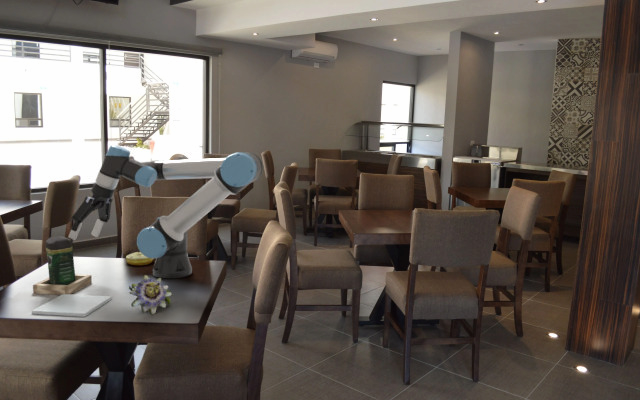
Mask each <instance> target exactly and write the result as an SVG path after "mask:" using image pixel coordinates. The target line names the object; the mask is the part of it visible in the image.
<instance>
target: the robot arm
mask: <svg viewBox="0 0 640 400" xmlns="http://www.w3.org/2000/svg"><path fill="white" fill-rule="evenodd" d="M130 155H131V151H130V150H128V149H127V148H124V147H121V146H119V145H116V144H112V145H110V146H109V148H108V150H107V152H106V154H105V157H104V159H103V162H102V164H101V167H100V169H99V172H98V173H97V176H96V179H95V182H94V183H93V185H92V188H91V193H92V195H91V197H90V196H88V195H86V196H85V197H84V200H83V202H82V203H81V204H80V206H79V207H78V208H77V210H76V211H75V212H74V214H73V215H72V216H71V217H70V219H71V221H73V223H72V227H71V229H70V231H69V234H68V237H67V238H68V239H70V240H73V241H76V240H77V237H78V236H79V233H80V230H81V228H82V225H83V221H84V220H86V219H87V217H88V216H89V215H90V214H91V213H92V212H95V211H96V210H97V212H98V213H97V214H98V218H97V219H96V221H95V224H94V226H93V228H92V231H91V233H90V235H91V236H93V237H94V238H98V237H99V236H100V233H101V231H102V229H103V226H104V223H108V221H109V220H110V216H111V207H112V202H113V195H114V194H115V189H116V188H117V187H118V184H119V181H120V178H121V177H123V178H125V179H127V180H129V181H131V182H133V183H135V184H137V185H138V186H142V187H145V188H150V187H151V186H152V185H153V184H154V183H155V181H166V180H167V181H168V180H191V179H210V180H208V181H207V182H205V184H203V185H202V186H201V187H200V188H198V190H196V192H194V193H193V194H192V195H191V196H190V197H189V198H187V199H186V200H184V202H183V203H182V204H180V205H179V206H178V207H177V208H176V209H174V210H173V211H172V212H171V213H170V214H168V215H161V216H160V217H159V216H158V217H156V220H155V221H154V222H153V223H151V224H150V226H147V227H144V228H143V229H141V231H140V232H139V233H138V234H137V236H136V245H137V248H138V250H139V252H141V253H142V254H143V255H144V256H146V257H148V258H154V259H155V261H154V264H153V268H152V276H153V277H156V278H158V279H159V278H161V279H179V278H184V277H187V276H190V275H192V273H193V272H192V271H193V267H192V264H191V261H190V259H189V256H188V231H189V229H191V228H192V227H193V226H195V224H197V223H198V222H199V221H201V220H202V219H203V218H204V217H205V216H206V215H207V214H208V213H210V212H211V211H212V210H213V209H215V208H216V207H217V206H218V205H219V204H220V203H222V202H223V201H224V200H225V199H227V197H228V196H230V195H232V196H233V195H234V196H235V195H238V194H239V193H240V192H241V191H242V190H244V189H245V188H247V186H249V184H251V183H254V182H256V181H258V179H260V177H261V176H262V175H263V173H264V163H263V161H262V159H261V157H260V156H259V155H258V154H256V153H254V152H251V151H243V152H241V151H240V152H239V151H238V152H233V153H231V154H229V155H228V156H226V157H219V158H218V157H216V158H215V157H214V158H212V157H211V158H193V159H173V160H172V159H171V160H169V159H168V160H152V161H142V162H140V161H138V160H136V159H133V158H132V157H130Z"/></svg>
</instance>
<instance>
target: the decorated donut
mask: <svg viewBox="0 0 640 400" xmlns="http://www.w3.org/2000/svg"><path fill="white" fill-rule="evenodd" d="M125 258H126V259H125V260H126V263H127V264H128V265H132V266H145V265H149V264H151V263H152V262H153V260H154V259H155V258H148V257H146V256H144V255H143V254H142V253H141V252H140V251H136V252H131V253H129V254H127V255H126V257H125Z"/></svg>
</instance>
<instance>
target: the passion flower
mask: <svg viewBox="0 0 640 400" xmlns="http://www.w3.org/2000/svg"><path fill="white" fill-rule="evenodd" d="M128 289H129V290H130V292H129V294H130V295H132V296H135V297H136V299H134V300H133V301H132V302H131V307H132V308H133V307H138V306H139V305H140V306H141V310H142V312H143V313H144V314H145V313H147V312H150V314H151V315H155V314H156V313H157V312H156V311H157V307H161V308H163V309H165V308H166V307H167V305H168V306H170V305H171V302H172V301H171V298H170V297H171V296H172V295H173V294H172V292H171V291H169V290H168V289H169V286H168V285H163V284H162V278H159V277H158V278H156V279H153V280H152V277H151V278H150V277H149V276H148V275H146V274H144V275H143V277H142V280H141V281H140V282H137V283H132V284H131V286H130V285H129V286H128Z"/></svg>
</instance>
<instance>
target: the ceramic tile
mask: <svg viewBox="0 0 640 400" xmlns="http://www.w3.org/2000/svg"><path fill="white" fill-rule="evenodd" d="M111 300H112V296H109V295H108V296H107V295H105V296H104V295H87V294H73V293H72V294H62V295H59V296H58V295H57V297H55V298H53V299H51V300H49V301H48V302H45V303H43V304H42V305H39V306H38V307H36V308H34V309H32V310H31V314H32V315H45V316H47V315H48V316H65V317H66V316H67V317H81V318H82V317H83V318H85V317H87V316H88V315H90V314H91V313H94V312H95V311H96V310H97V309H99V308H100V307H102V306H104V305H105V304H107V303H108V302H109V301H111Z"/></svg>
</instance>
